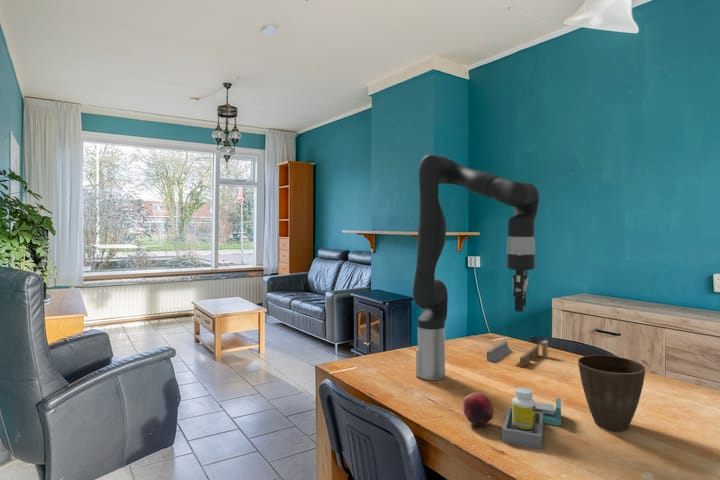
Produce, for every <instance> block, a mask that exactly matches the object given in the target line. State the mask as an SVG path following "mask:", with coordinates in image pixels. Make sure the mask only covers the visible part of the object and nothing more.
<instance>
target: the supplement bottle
mask: <svg viewBox="0 0 720 480" xmlns="http://www.w3.org/2000/svg"><path fill="white" fill-rule="evenodd" d="M514 393H515V395H514V397H513V398H512V401H511V406H512V407H511V408H512V427H513V429H514V430H518V431H524V432H529V433H533V432H534V431H535V402H536V401H535V400H534V399H533V390H532V389H530V388H528V387H517V388H515V391H514Z"/></svg>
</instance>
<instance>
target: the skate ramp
mask: <svg viewBox="0 0 720 480" xmlns="http://www.w3.org/2000/svg"><path fill="white" fill-rule="evenodd" d="M548 344H549V343H548V339H544V340H539V341H538V342H537V344H536V346H534V347H532V348H531V349H530V350H528V351H527V352H526V353H524V354H523V355H521V356H520V357H519V362H517V363H515V365H514V367H517V368H525V367H527V366H528V365H529V364H530V363H531V362H532V361H534V360H535V359H536V358H537V357H538V356H539V353H540V352H539V351H540V350H539V347H541V346H542V352H541V353H542V355H541V357H542V359H543V358H545V359H547V357H548V355H549V354H548V351H549V350H548ZM512 352H513V351H512V350H511V349H510V347H509V346H508V339H505V340H503V341H502V340H501V341H499V343H498V344H497V343H496V344H494V345H493V346H492V347H489V348H487V349H486V362H491V363H497V362H498V361H500V360H502V359H503V358H504V357H506V356H507V355H509V354H510V353H512Z"/></svg>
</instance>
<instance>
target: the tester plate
mask: <svg viewBox="0 0 720 480" xmlns="http://www.w3.org/2000/svg"><path fill="white" fill-rule="evenodd" d="M554 409H555V404H553V403H546V402H539V401H535V412H541V413H546V414H552V415H554Z"/></svg>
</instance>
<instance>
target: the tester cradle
mask: <svg viewBox="0 0 720 480" xmlns="http://www.w3.org/2000/svg"><path fill="white" fill-rule="evenodd" d="M543 424H547V425H552V426H558V427H559V426H560V427H561V426H562V399H561V398H557V397H556V398H555V408H554V415H552V414H546V413H543Z"/></svg>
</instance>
